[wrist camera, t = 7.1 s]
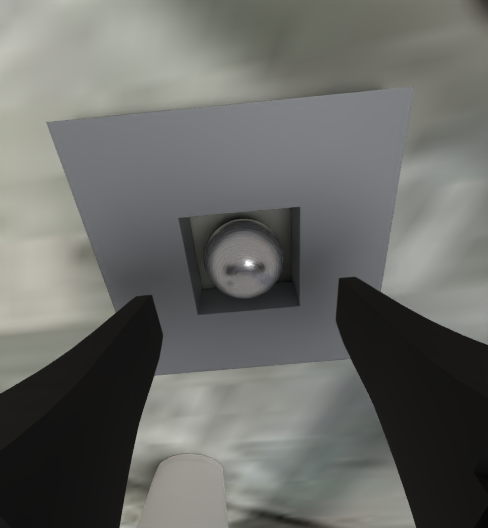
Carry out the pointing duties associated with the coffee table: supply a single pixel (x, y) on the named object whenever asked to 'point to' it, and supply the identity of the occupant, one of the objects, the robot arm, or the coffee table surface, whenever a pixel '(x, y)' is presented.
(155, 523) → the foam cup
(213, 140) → the grey square frame
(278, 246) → the steel ball
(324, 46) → the coffee table surface
